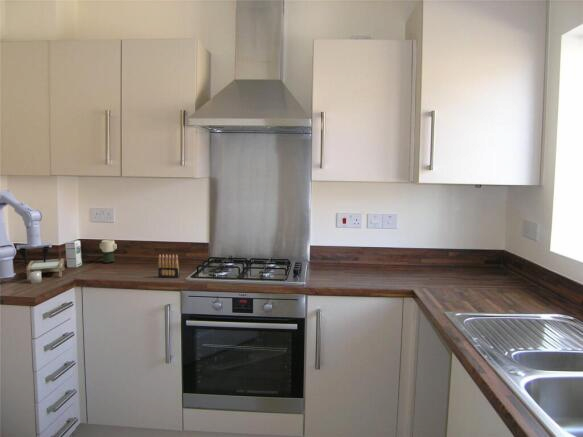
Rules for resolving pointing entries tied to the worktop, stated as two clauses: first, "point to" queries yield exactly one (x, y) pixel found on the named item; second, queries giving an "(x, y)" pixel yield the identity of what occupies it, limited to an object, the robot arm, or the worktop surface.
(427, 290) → the worktop surface
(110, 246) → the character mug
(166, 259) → the ammunition clip
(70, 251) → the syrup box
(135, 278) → the worktop surface
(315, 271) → the worktop surface
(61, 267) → the frame
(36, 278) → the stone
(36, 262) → the trapdoor
